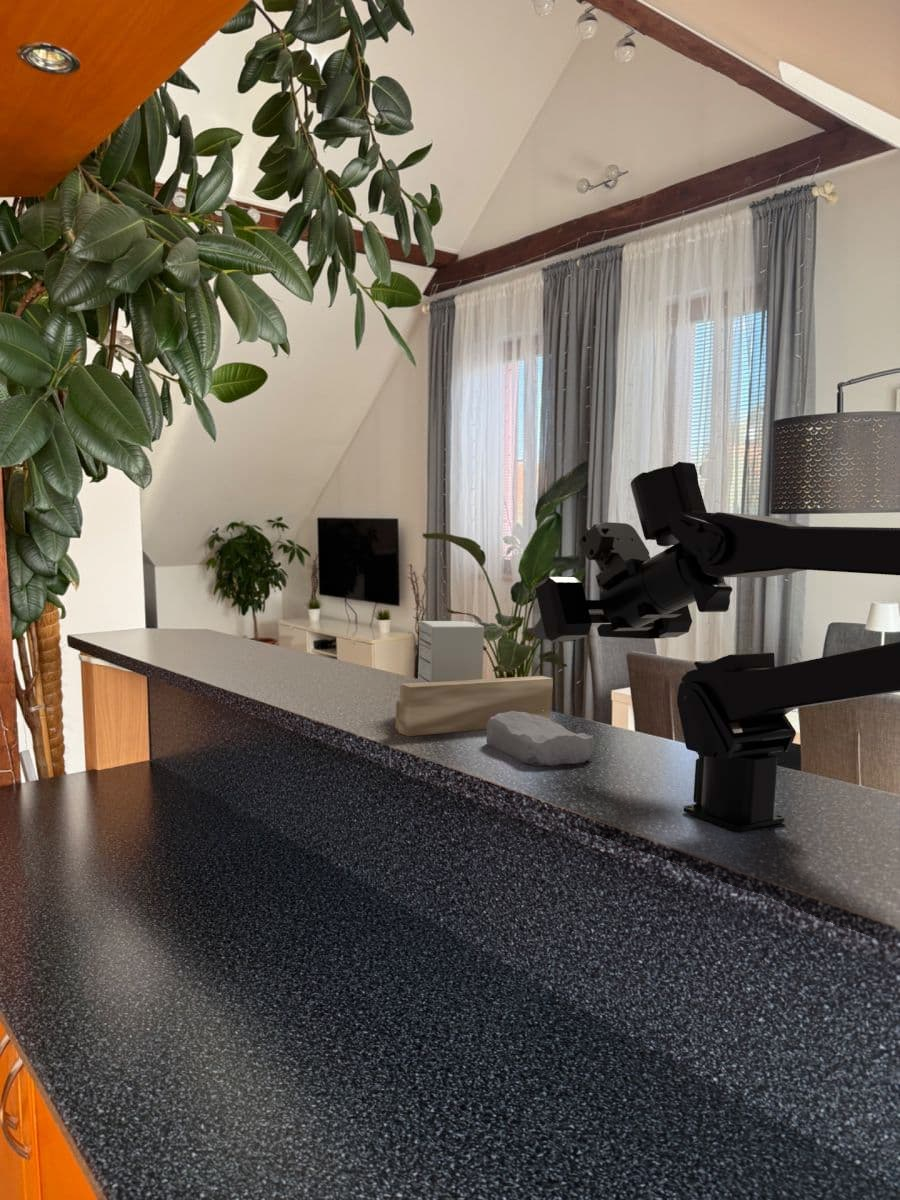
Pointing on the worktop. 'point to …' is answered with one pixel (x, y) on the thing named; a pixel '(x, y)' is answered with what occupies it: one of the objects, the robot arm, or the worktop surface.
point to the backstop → (468, 703)
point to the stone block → (537, 739)
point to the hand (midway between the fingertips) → (567, 633)
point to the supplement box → (450, 651)
